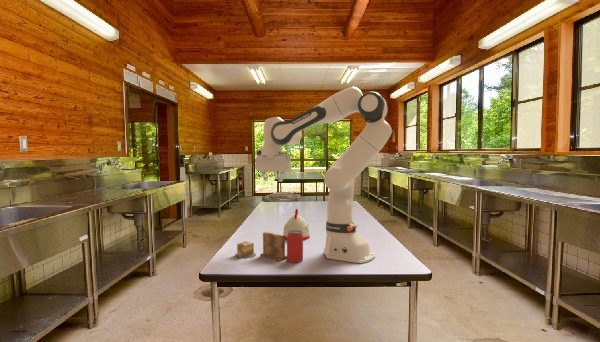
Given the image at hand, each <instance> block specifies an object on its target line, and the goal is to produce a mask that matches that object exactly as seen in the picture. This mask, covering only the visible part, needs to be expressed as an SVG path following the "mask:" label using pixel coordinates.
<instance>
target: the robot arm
mask: <svg viewBox="0 0 600 342" xmlns="http://www.w3.org/2000/svg"><path fill="white" fill-rule="evenodd" d="M355 113H359V114H360V115H361V117H362V119H364V121H365V122H366V125H365V127H364V129H363V130H362V131H360V133H359V134H358V136H357V137H356V138H355V140H354V141H352V142H351V144H350V146H348V148H347V149H346V150H344V152H343V153H341V155H340V156H339V157H338V158H337V159H336V160H335V161H334V162H333V164H332V165H330V167H329V168H328V169H326V171H325V174H324V177H323V181H324V185H325V186H326V188H327V189H329V192H328V199H327V204H326V205H327V206H326V207H327V208H326V222H325V230H326V236H325V237H326V239H325V243H324V248H323V252H322V253H323V255H325V258H326V259H329V260H336V261H342V262H349V263H356V264H365V263H367V262H371V261H373V259H375V258H376V254H375V253H374V252H371V250H370V248H371V247H370V244H369V241H368V240H367V239H365V238H364V236H362V235H361V234H360V233H359V232H357V228H359V227H358V226H359V225H358V224H355V223H354V222H353V212H354V210H353V207H354V205H353V203H354V194H355V193H354V192H355V180H356V178H357V177H359V175H360V174H361V173H362V172H363V171H364V170H365V169H366V168H367V167H368V166H369V164H370V163H371V162H372V161H373V160H374V159H375V157H376V156H377V155H378V154H379V152H380V151H382V149H383V148H384V147H385V145H386V144H387V142H388V141H389V140H390V137H391V135H392V132H393V129H392V127H391V124H390V123H389V122H387V121H386V119H387V117H388V115H389V106H388V103H387V101H386V99H384V97H383V96H382V95H381V94H380V93H379V92H376V91H367V92H364V93H363V92H362V90H361V89H359V88H358V87H356V86H351V87H347V88H345V89H342V90H340V91H338V92H336V93H334V94H332V95H331V96H329V97H328V98H326V99H324V100H323V101H321V102H320V103H318V104H317V105H315V106H313V107H312V108H310V109H308V110H306V111H305V112H302V113H301V114H298V115H296V116H294V117H292V118H291V119H288V120H283V119H282V118H281V117H280V116H271V117H267V118H266V119H265V120H264V123H263V139H264V140H263V147H262V148H260V149H258V150H256V151H255V155H256V157H255V160H254V162H255V163H254V164H255V166H254V168H255V171H258V172H261V175H262V178H263V179H262V180H263V181H264V182H267V181H269V176H267V172H275V173H276V172H277V173H278V172H279V177H277V180H278V182H279V183H280V182H284V177H285V175H286V173H289V172H290V173H291V171H292V162H291V161H292V160H291V155H290V153H289V152H288V151H283V145H290V146H292V145H296V144H298V143H299V142H301V140H302V137H303V132H302V131H303V130H305V129H308V128H310V127H311V126H314V125H318V124H332V123H335V122H336V123H337V122H339V121H342V119H346V118H347V117H348V116H350V115H351V114H355ZM370 260H371V261H370Z"/></svg>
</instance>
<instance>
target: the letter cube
mask: <svg viewBox="0 0 600 342" xmlns="http://www.w3.org/2000/svg"><path fill="white" fill-rule="evenodd" d="M236 247H237V248H236V251H237V252H236V254H237V255H239V256H243V257H247V256H250V255H254V253H255V252H254V251H255V249H254V248H255V246H254V242H252V241H241V242H238V243H237V244H236Z"/></svg>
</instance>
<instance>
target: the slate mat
mask: <svg viewBox="0 0 600 342" xmlns="http://www.w3.org/2000/svg"><path fill="white" fill-rule="evenodd" d="M256 256H257V253H256V252H254V255H250V256H247V257H243V256H239V255H237V253H235V255H234V257H235V258H238V259H249V258H250V259H251V258H254V257H256Z"/></svg>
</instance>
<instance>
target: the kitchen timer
mask: <svg viewBox="0 0 600 342" xmlns="http://www.w3.org/2000/svg"><path fill="white" fill-rule="evenodd" d="M291 230H299V231H302V235H303V241H306V240H309V239H310V238H311V237H310V235H311V234H310V227H309V224H308V223H307V222H306V220H305V219H304V218H303V217H302V216H301V215H299V209H298V208H296V209H295V210H294V215H293V216H291V217H290V218H288V220H287V221H286V223H285V224H284V227H283V236H285V240H286V241H287V235H288V232H289V231H291Z"/></svg>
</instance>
